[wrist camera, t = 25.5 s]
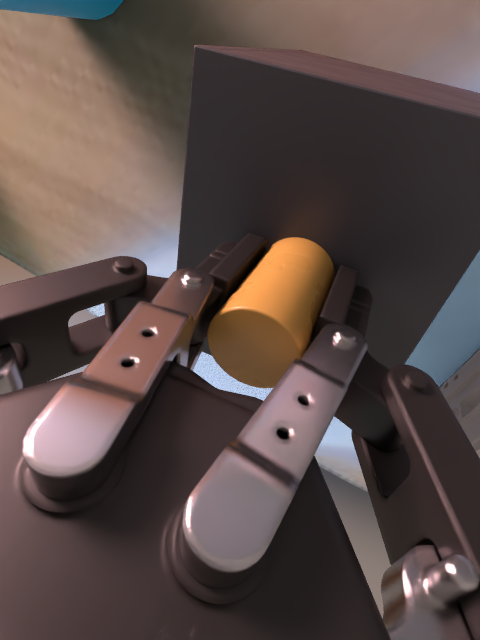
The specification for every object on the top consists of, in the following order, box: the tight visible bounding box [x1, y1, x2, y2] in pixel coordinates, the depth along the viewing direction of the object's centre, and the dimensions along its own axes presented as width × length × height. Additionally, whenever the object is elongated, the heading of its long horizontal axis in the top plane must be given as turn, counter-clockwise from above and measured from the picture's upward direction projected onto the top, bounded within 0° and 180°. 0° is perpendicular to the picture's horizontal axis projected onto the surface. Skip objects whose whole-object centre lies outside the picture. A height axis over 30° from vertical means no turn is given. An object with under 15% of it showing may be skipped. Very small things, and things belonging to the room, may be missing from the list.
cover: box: [177, 45, 480, 388], centre depth 17 cm, size 10×12×18 cm
